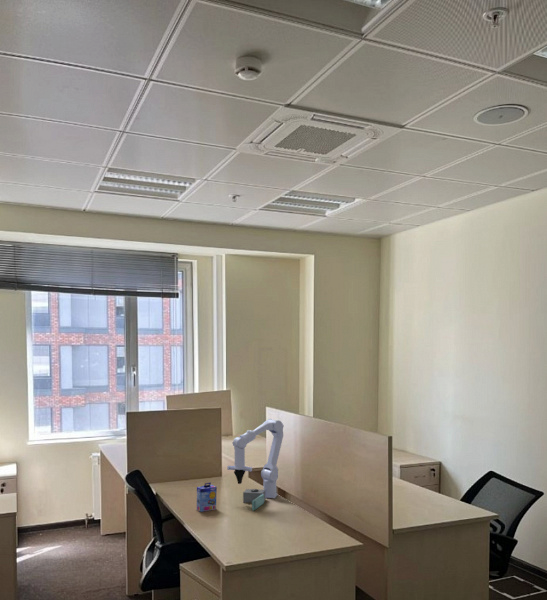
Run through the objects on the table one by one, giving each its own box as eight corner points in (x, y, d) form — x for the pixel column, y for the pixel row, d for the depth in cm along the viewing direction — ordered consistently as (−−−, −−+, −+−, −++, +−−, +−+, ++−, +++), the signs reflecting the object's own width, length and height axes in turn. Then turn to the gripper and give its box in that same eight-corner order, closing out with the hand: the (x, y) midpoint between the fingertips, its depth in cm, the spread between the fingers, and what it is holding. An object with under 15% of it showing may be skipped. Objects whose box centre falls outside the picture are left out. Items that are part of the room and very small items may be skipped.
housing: (246, 498, 338) (246, 487, 338) (265, 499, 336) (265, 488, 336) (243, 502, 330) (243, 491, 330) (262, 503, 328) (262, 492, 328)
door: (252, 510, 313) (252, 500, 313) (263, 502, 328) (263, 493, 328) (254, 510, 313) (254, 501, 313) (265, 503, 327) (265, 493, 328)
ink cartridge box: (200, 512, 312) (200, 484, 313) (195, 509, 316) (196, 482, 317) (217, 509, 317) (217, 482, 318) (212, 507, 321) (212, 480, 322)
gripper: (224, 459, 331) (225, 484, 330) (248, 461, 326) (248, 486, 325) (230, 457, 338) (230, 481, 337) (253, 458, 332) (253, 483, 331)
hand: (239, 483), depth 331 cm, fingers closed
